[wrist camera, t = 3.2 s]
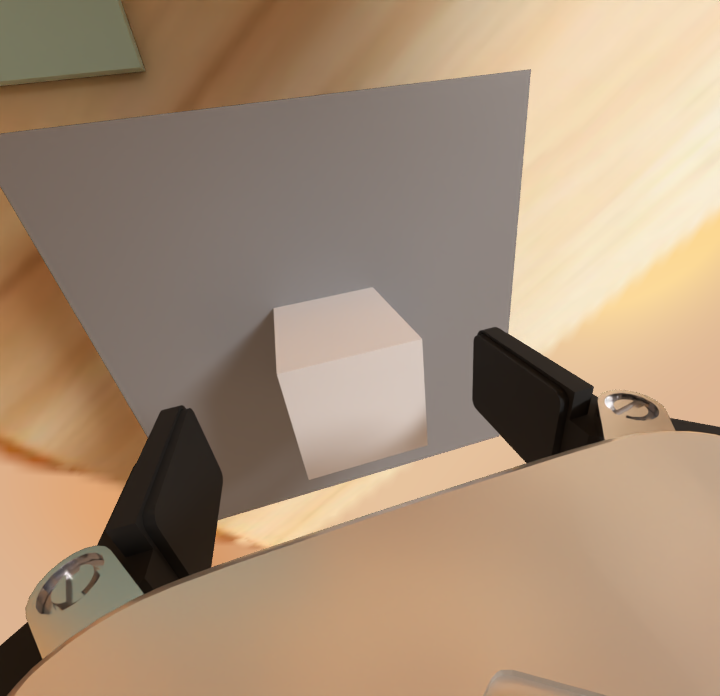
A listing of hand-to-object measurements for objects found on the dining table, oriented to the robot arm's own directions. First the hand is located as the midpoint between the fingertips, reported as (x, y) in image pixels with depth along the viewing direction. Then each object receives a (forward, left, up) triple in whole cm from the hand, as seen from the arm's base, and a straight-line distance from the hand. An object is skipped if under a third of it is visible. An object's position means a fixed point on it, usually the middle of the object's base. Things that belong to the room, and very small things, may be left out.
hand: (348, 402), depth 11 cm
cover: (0, 0, -8) cm, 8 cm away
